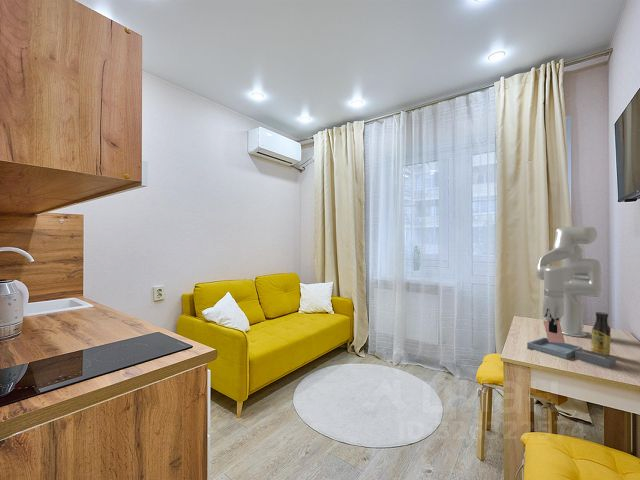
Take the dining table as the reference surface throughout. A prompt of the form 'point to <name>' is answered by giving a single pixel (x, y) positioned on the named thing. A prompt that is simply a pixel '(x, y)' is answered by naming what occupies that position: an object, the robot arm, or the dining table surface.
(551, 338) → the ticket
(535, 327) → the dining table surface
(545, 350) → the tray
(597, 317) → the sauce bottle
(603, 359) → the dispenser
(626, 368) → the dining table surface
